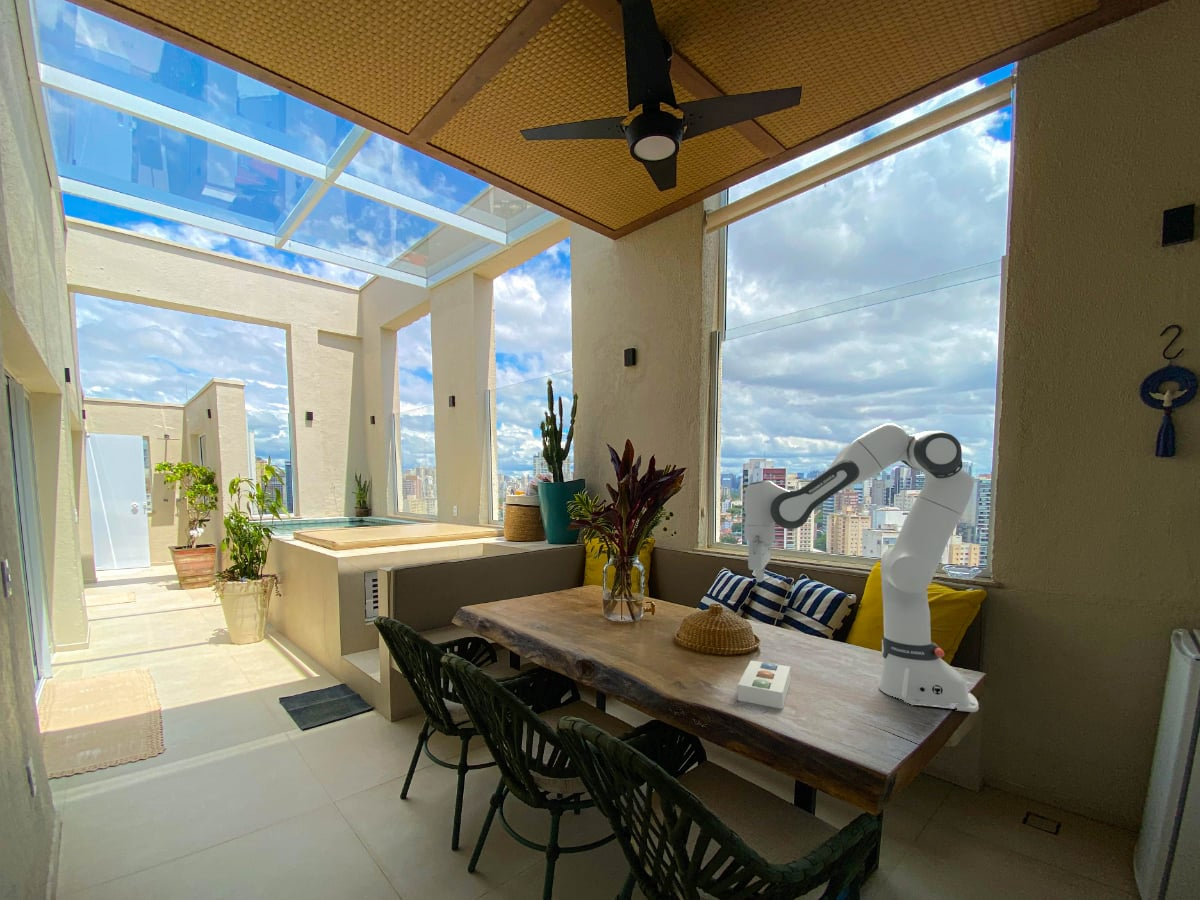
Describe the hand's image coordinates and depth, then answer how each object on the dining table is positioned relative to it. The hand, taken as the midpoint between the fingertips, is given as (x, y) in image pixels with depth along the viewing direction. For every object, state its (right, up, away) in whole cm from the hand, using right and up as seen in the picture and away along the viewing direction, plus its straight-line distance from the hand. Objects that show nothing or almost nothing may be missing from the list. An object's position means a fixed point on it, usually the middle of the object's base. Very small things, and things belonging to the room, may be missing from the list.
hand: (760, 581), depth 152 cm
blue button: (0, -25, -7) cm, 26 cm away
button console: (-3, -26, -13) cm, 30 cm away
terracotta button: (-3, -25, -13) cm, 28 cm away
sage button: (-6, -24, -20) cm, 32 cm away
